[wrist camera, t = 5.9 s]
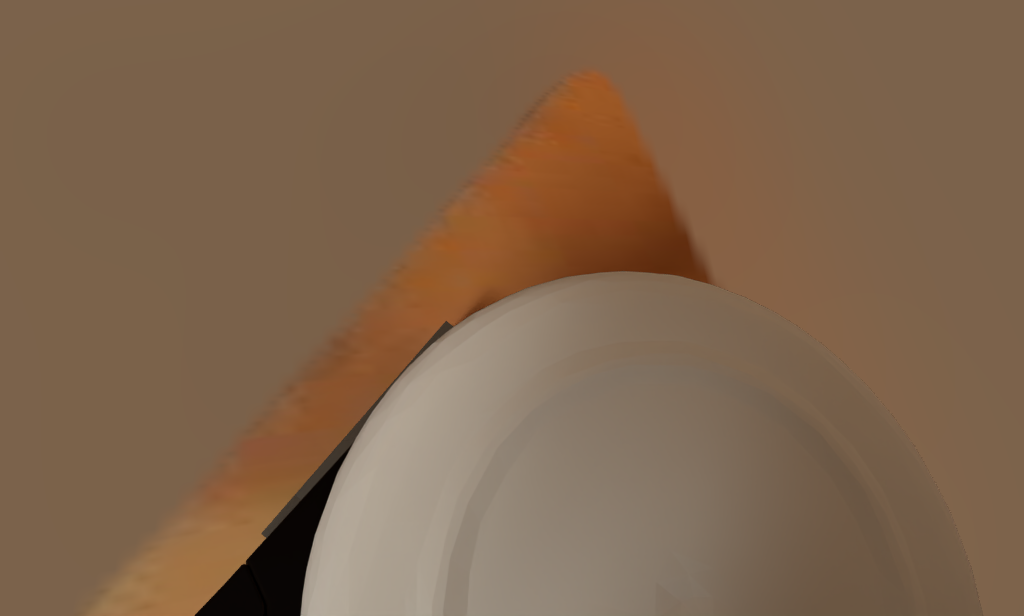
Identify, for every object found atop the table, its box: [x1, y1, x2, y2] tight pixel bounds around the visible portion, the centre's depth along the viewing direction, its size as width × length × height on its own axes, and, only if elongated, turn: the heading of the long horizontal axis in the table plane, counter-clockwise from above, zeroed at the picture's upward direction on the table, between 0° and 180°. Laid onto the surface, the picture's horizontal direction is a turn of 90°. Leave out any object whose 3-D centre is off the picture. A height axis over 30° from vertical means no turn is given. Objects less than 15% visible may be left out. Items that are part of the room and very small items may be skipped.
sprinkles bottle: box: [301, 271, 983, 616], centre depth 9 cm, size 5×5×13 cm
